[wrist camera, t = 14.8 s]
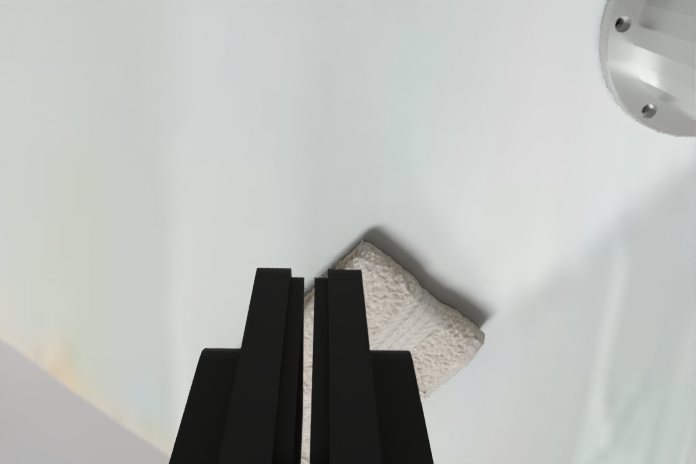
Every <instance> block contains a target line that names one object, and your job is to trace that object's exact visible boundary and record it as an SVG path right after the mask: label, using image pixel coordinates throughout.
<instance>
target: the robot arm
mask: <svg viewBox="0 0 696 464" xmlns="http://www.w3.org/2000/svg"><path fill="white" fill-rule="evenodd" d="M619 18H620V23H619V25H617V26H615V23H616V21H617V19H619ZM599 52H600V61H601V70H602V73H603V76H604V79H605V82H606V85H607V88H608V89H609V91H610V93H611V94H612V96H613V98H614V99H615V101H616V103H617V104H618V105H619V106H620V107H621V108H622V109H623V110H624V111H625V112H626V113H627V114H628V115H629V116H630V117H632V118H633V119H635V120H636V121H638V122H639V123H641V124H642V125H644V126H646V127H648V128H650V129H653V130H655V131H657V132H659V133H663V134H668V135H672V136H676V137H696V0H609V1H608V3H607V6H606V10H605V14H604V18H603V21H602V25H601V33H600V45H599ZM645 106H646V107H645ZM644 107H645V109H644V110H643V111H642V109H643V108H644ZM303 370H304V278H302V277H292V274H291V268H257V270H256V275H255V280H254V285H253V290H252V295H251V300H250V305H249V310H248V315H247V321H246V326H245V331H244V336H243V341H242V346H241V349H224V348H205V349H204V350H203V351H202V353H201V355H200V358H199V361H198V365H197V368H196V372H195V375H194V379H193V382H192V386H191V389H190V393H189V396H188V399H187V403H186V406H185V410H184V413H183V417H182V420H181V424H180V427H179V431H178V434H177V437H176V441H175V444H174V448H173V451H172V455H171V458H170V462H169V464H301V452H302V430H303ZM310 464H434V463H433V458H432V453H431V448H430V443H429V438H428V433H427V428H426V423H425V418H424V413H423V408H422V403H421V398H420V394H419V389H418V384H417V379H416V374H415V369H414V364H413V359H412V355H411V353H410V351H409V350H370V344H369V335H368V325H367V316H366V307H365V297H364V288H363V278H362V270H352V269H328V278H315V288H314V322H313V357H312V392H311V426H310Z"/></svg>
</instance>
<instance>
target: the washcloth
mask: <svg viewBox="0 0 696 464" xmlns="http://www.w3.org/2000/svg"><path fill="white" fill-rule="evenodd" d="M335 269H352V270H362V278H363V288H364V297H365V307H366V316H367V325H368V335H369V344H370V350H409V351H410V353H411V355H412V359H413V364H414V369H415V374H416V379H417V384H418V389H419V394H420V398H421V403H422V402H424V401H425V400H427V398H429V397H430V395H431V394H432V393H433V392H434V391H436V390H437V389H438V388H439V387H440V386H441V385H443V384H444V383H445V382H447V381H448V380H449V379H450V378H451V377H453V376H455V375H456V374H457V373H458V372H459V371H460V370H462V369H463V368H464V367H466V366H467V365H468V364H469V363H470V362H471V360H472V359H473V358H474V356H475V355H476V354H477V352H478V350H479V349H480V348H481V346H482V345H483V344H484V338H485V334H484V332H482V331H481V330H480V329H479V328H478V327H477V325H475V324H474V323H472V322H471V321H470V320H469V319H467V318H465V317H464V316H462V315H461V314H460V312H458V311H456V310H455V309H453V308H451V307H449V306H448V305H445V304H442V303H440V302H439V301H437V300H436V299H435V298H434V297H433V296H432V295H431V294H429V292H428V291H427V290H425V289H424V288H422V287H421V286H420V285H419V283H418V280H417V279H416V278H415V277H414V276H413V275H412V274H410V273H409V272H408V271H406V270H404V269H403V268H402V266H400V265H399V264H397V263H396V262H394V261H393V260H392V258H391V257H390V256H387V255H386V254H385V253H384V252H382V251H381V250H380V249H378V248H376V247H375V246H374V245H372V244H371V243H368V242H363V241H362V240H361V243H360V244H359V245H357V246H356V248H355V249H353V250H352V251H351V253H350V254H349V255H348V256H346V257H345V258H344V259H343V261H342V260H341V261H339V262H338V265H337V267H336V268H335ZM325 278H328V275H327V276H326V277H325ZM313 322H314V288H312V291H311V292H310V293H307V295H306V296H305V297H304V370H303V430H302V452H301V464H310V426H311V392H312V357H313Z"/></svg>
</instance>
